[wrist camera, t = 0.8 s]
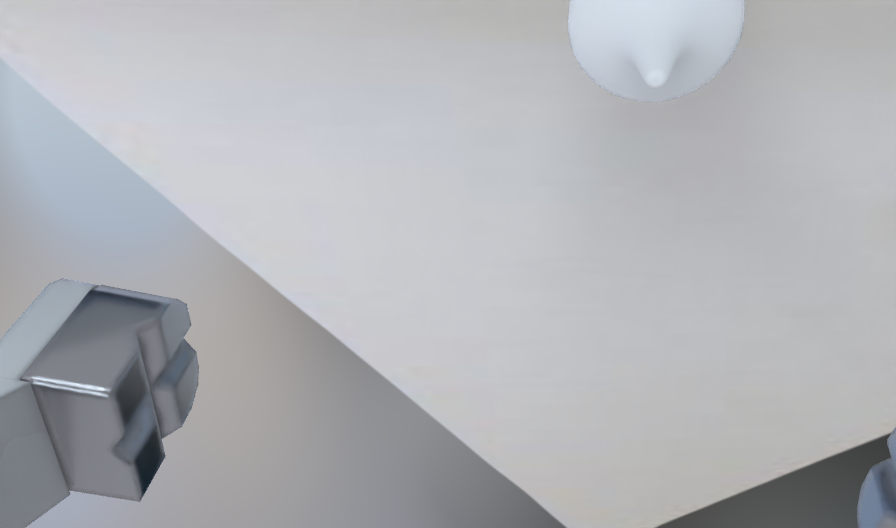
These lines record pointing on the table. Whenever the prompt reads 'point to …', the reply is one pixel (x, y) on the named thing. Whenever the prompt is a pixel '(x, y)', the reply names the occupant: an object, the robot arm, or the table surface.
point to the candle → (654, 44)
